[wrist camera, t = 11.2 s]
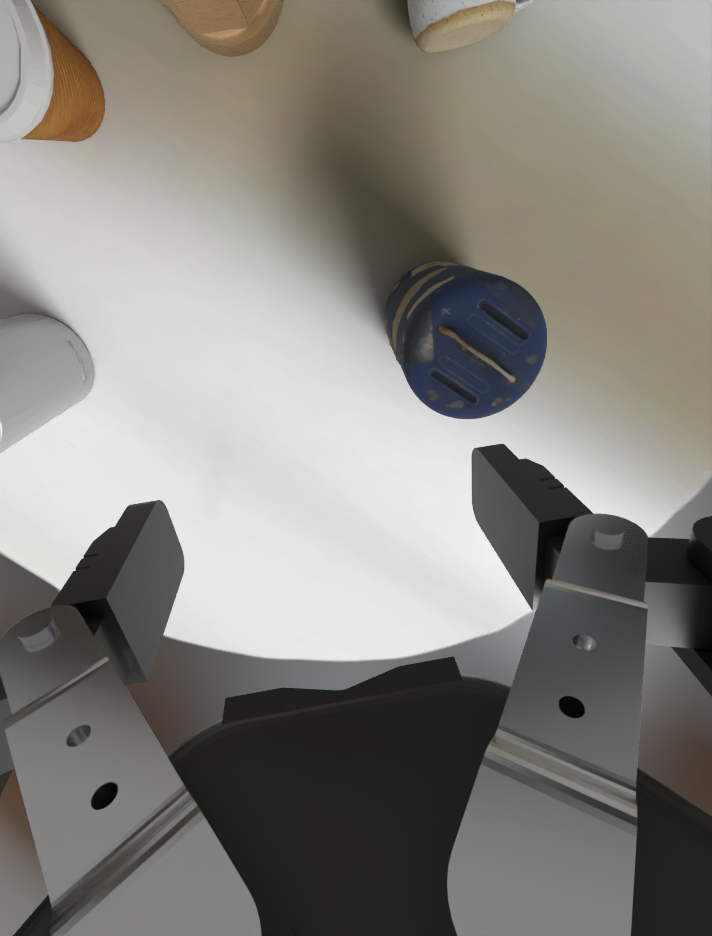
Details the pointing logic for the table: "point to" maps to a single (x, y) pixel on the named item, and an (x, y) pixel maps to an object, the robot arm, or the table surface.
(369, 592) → the table surface
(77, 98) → the disposable coffee cup
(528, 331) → the canister
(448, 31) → the ceramic mug
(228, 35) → the wooden pitcher
